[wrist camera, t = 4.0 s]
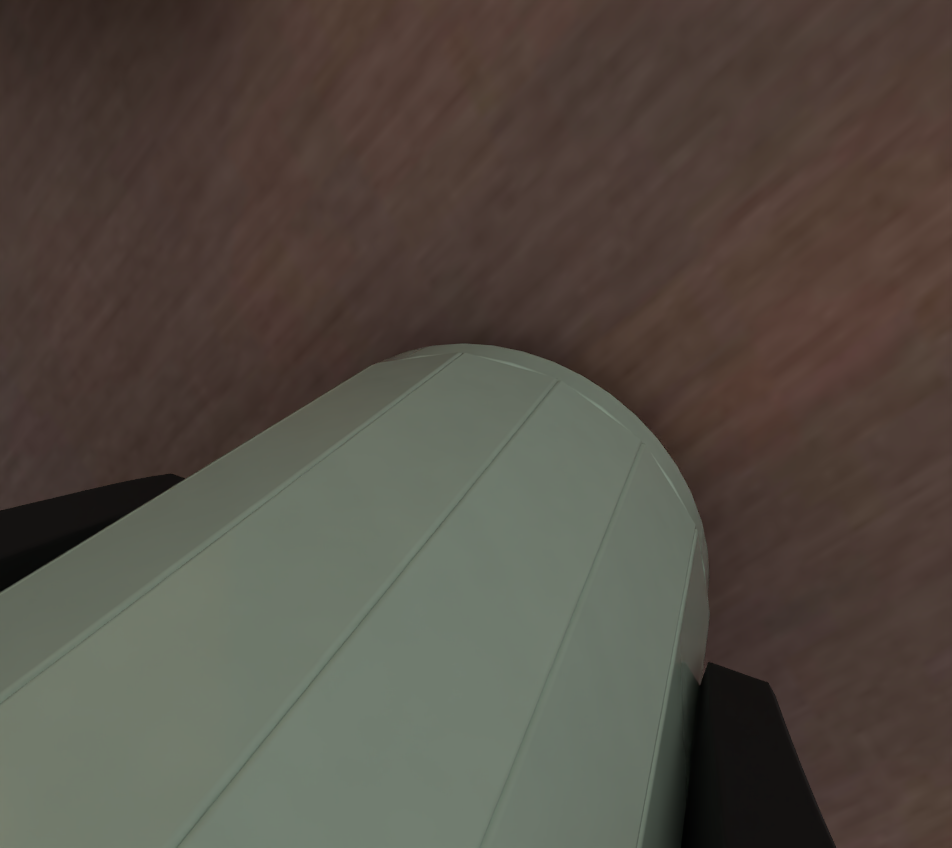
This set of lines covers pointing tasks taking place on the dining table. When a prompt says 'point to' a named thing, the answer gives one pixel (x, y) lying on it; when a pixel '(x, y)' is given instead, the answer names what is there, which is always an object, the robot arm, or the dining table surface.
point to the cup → (375, 632)
